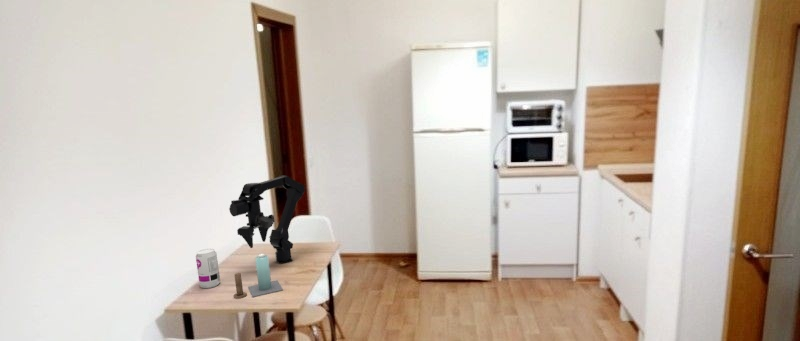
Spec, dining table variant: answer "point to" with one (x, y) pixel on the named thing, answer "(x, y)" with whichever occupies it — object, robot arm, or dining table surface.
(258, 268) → the teal bottle
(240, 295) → the walnut gate posts
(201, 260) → the supplement can
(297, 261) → the dining table surface
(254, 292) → the charcoal rubber mat
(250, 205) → the robot arm
